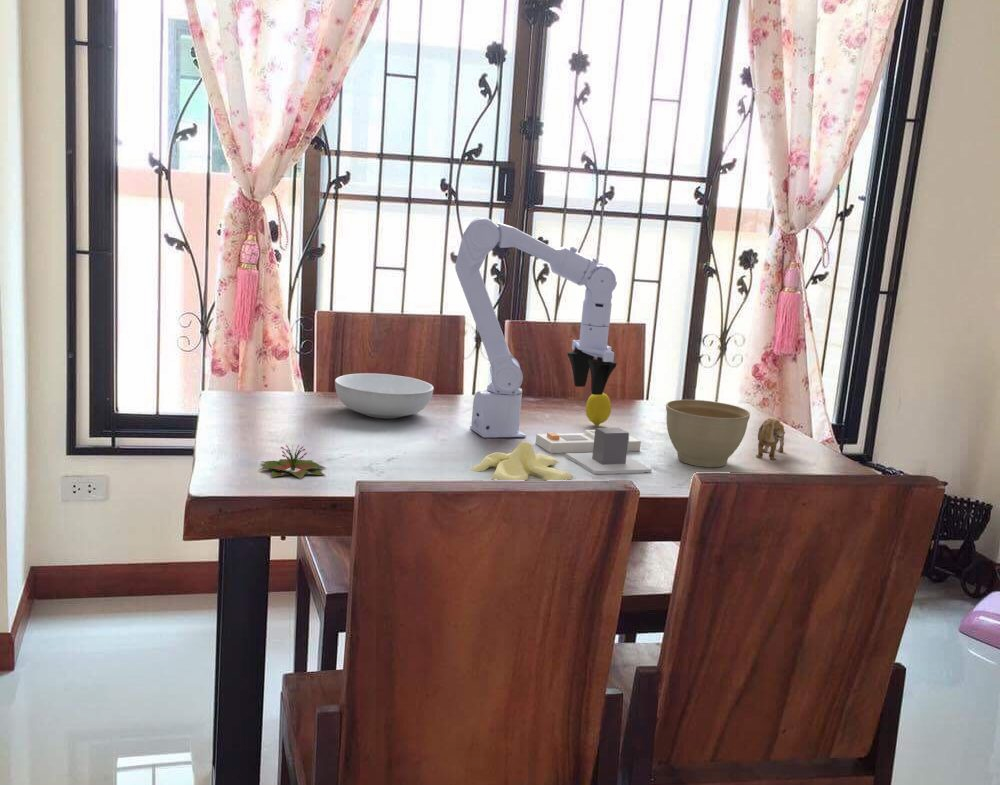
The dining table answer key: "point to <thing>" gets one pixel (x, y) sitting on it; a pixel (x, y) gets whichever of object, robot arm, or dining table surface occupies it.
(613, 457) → the block
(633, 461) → the mat
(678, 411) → the planter bowl
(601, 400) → the lemon
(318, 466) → the lily flower
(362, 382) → the serving bowl
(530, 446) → the banana peel
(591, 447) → the power strip
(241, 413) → the dining table surface
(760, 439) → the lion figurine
